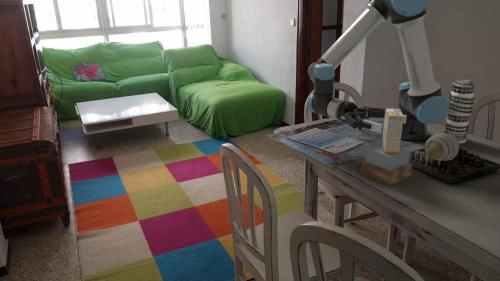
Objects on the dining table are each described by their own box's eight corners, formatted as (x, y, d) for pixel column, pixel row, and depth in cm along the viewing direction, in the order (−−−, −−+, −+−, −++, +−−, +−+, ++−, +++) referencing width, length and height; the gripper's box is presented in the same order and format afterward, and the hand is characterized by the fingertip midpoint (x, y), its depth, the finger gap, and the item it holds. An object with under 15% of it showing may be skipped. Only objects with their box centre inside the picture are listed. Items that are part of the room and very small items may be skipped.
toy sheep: (414, 164, 138) (418, 136, 134) (436, 151, 148) (440, 124, 144) (444, 173, 130) (449, 143, 126) (465, 159, 140) (470, 131, 136)
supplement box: (399, 154, 124) (404, 116, 119) (384, 153, 125) (388, 115, 120) (395, 144, 131) (400, 108, 126) (381, 143, 132) (385, 107, 127)
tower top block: (384, 154, 136) (385, 141, 135) (408, 163, 129) (410, 149, 127) (365, 161, 131) (366, 147, 130) (389, 171, 124) (391, 157, 122)
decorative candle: (437, 138, 160) (446, 80, 151) (451, 134, 164) (460, 77, 155) (457, 145, 153) (468, 84, 144) (471, 140, 157) (482, 80, 148)
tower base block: (381, 165, 139) (383, 152, 138) (411, 176, 130) (413, 163, 128) (360, 174, 133) (361, 161, 131) (389, 187, 124) (391, 173, 122)
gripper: (363, 113, 148) (413, 126, 132) (318, 127, 135) (368, 144, 119) (364, 94, 146) (416, 105, 130) (319, 107, 132) (370, 121, 116)
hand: (393, 124), depth 124 cm, fingers open, 13 cm apart
